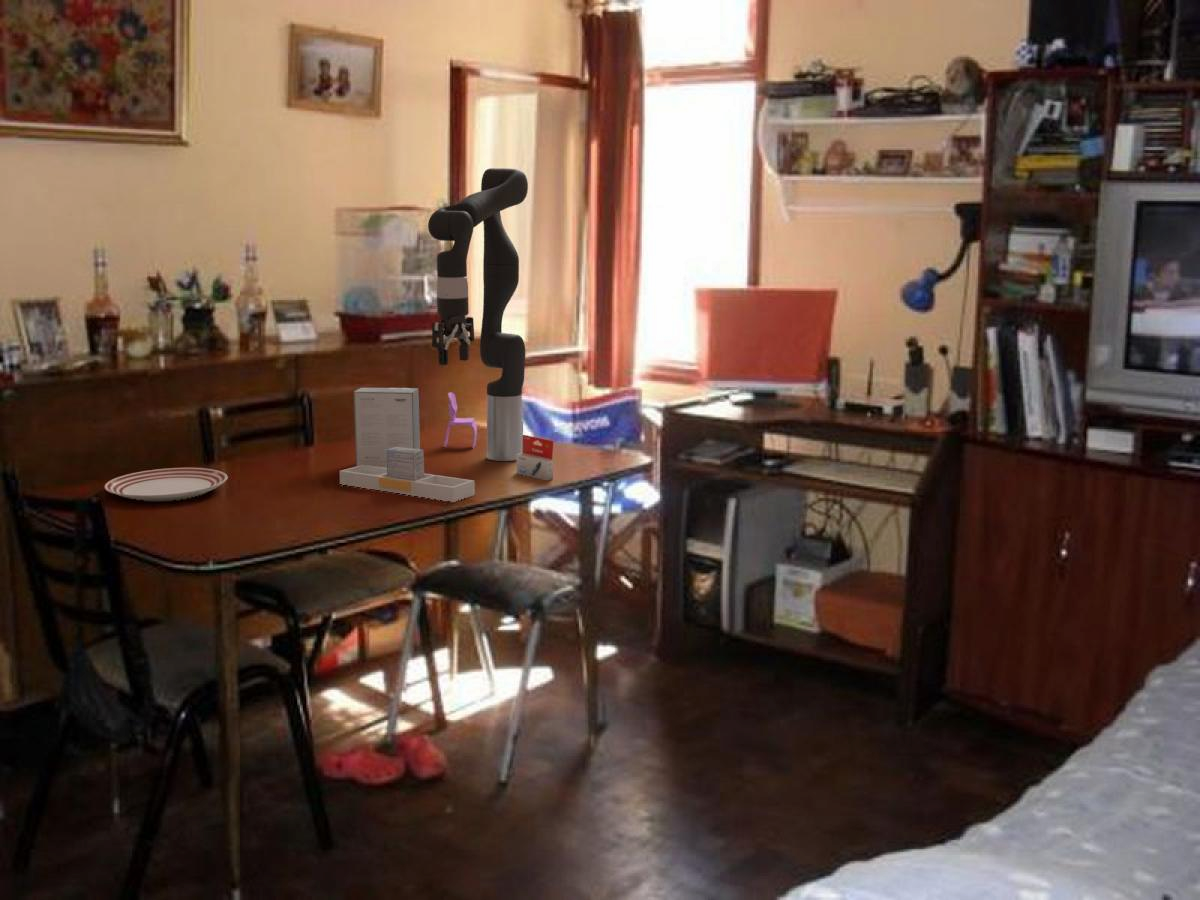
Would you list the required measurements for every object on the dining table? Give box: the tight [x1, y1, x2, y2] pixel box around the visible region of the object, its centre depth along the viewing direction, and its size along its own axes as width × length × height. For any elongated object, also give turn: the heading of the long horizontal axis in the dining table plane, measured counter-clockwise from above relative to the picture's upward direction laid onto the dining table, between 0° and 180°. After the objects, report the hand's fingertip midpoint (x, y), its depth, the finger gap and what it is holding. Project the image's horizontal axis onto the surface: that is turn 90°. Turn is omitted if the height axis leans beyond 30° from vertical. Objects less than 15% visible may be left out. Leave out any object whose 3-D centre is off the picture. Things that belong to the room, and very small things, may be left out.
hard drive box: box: [353, 387, 421, 468], centre depth 342 cm, size 16×8×20 cm, turn 84°
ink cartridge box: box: [516, 434, 554, 481], centre depth 334 cm, size 2×11×10 cm, turn 47°
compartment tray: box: [339, 465, 476, 503], centre depth 318 cm, size 9×33×4 cm, turn 61°
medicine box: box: [386, 447, 425, 481], centre depth 317 cm, size 8×4×9 cm, turn 68°
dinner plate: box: [104, 467, 229, 502], centre depth 313 cm, size 27×27×3 cm
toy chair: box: [442, 391, 478, 449], centre depth 369 cm, size 8×9×15 cm
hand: (454, 362), depth 323 cm, fingers open, 8 cm apart
